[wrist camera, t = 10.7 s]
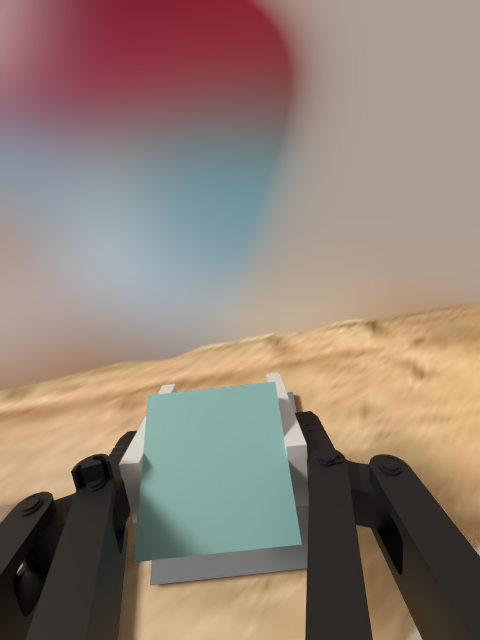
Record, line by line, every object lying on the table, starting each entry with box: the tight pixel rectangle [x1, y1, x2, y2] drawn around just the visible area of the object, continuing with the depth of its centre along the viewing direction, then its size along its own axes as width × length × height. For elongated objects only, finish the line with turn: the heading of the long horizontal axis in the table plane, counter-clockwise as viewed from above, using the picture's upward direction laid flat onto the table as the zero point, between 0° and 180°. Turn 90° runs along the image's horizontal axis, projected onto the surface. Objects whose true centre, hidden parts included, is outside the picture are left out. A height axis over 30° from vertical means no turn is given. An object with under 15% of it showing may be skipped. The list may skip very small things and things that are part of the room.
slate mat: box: [150, 392, 309, 585], centre depth 22 cm, size 12×12×1 cm
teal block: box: [133, 382, 302, 562], centre depth 14 cm, size 6×6×9 cm
